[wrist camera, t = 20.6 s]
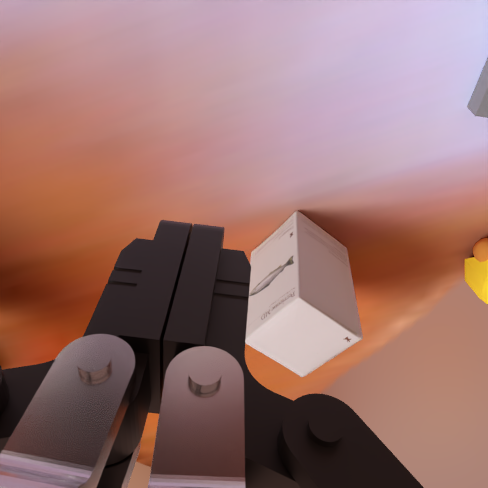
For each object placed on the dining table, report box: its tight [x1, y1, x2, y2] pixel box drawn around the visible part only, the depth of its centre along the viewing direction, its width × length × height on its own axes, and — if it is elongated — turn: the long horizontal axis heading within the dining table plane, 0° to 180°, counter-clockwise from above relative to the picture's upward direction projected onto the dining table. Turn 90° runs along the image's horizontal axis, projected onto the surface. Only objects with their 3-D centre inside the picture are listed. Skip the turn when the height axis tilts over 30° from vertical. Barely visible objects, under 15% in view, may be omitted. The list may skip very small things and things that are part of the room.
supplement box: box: [245, 211, 363, 377], centre depth 43 cm, size 7×7×13 cm
